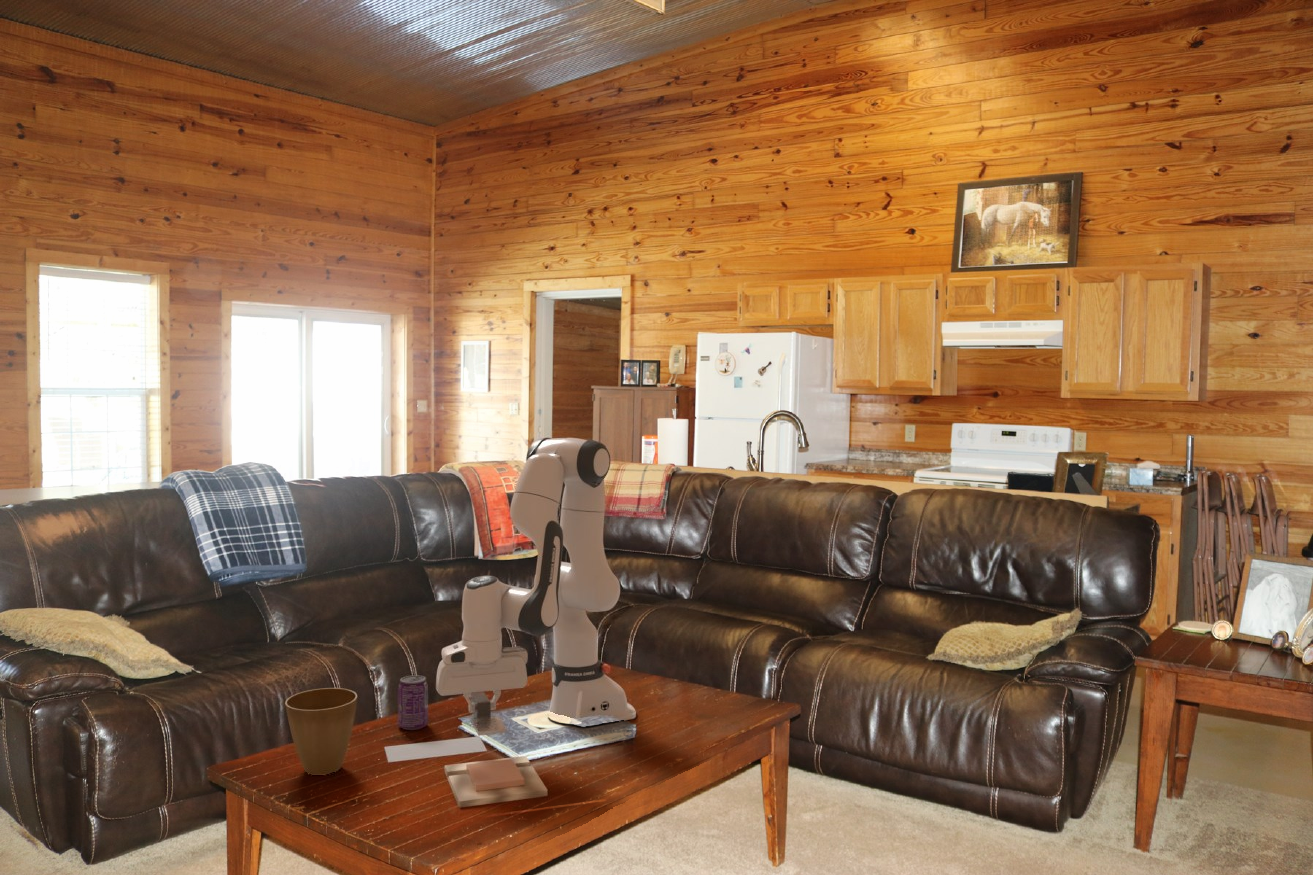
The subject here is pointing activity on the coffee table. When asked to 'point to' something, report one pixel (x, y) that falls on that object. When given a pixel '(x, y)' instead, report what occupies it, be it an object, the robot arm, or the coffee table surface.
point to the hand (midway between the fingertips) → (482, 710)
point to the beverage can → (412, 702)
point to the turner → (485, 716)
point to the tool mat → (434, 749)
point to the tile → (494, 774)
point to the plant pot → (321, 727)
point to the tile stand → (471, 797)
